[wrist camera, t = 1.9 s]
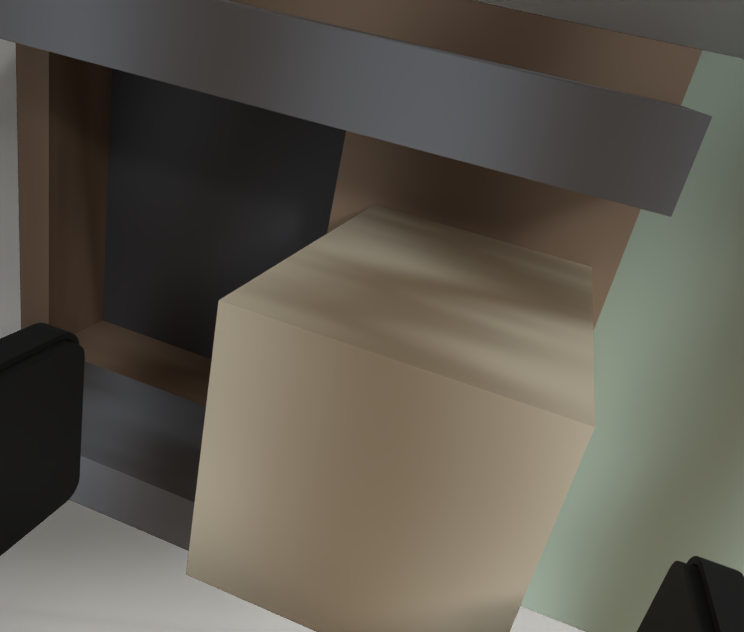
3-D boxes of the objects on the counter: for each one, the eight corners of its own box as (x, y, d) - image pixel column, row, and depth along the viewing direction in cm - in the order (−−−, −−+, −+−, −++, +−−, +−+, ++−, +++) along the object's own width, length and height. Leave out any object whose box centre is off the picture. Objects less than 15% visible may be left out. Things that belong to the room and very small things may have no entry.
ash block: (592, 266, 14) (594, 427, 8) (522, 454, 16) (479, 703, 10) (374, 204, 15) (218, 300, 9) (335, 388, 17) (185, 574, 11)
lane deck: (1061, 136, 13) (1437, 187, 7) (755, 619, 19) (829, 864, 13) (100, -72, 18) (-139, -143, 12) (87, 367, 23) (-79, 464, 18)
